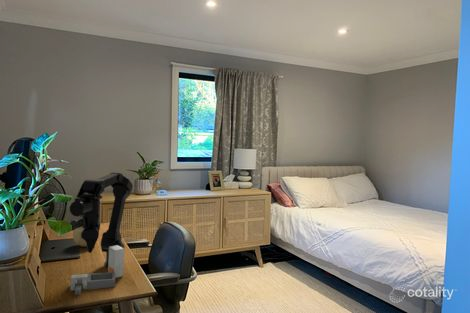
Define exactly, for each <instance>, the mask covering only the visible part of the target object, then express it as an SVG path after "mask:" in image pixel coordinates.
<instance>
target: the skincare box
mask: <svg viewBox="0 0 470 313" xmlns="http://www.w3.org/2000/svg"><path fill="white" fill-rule="evenodd" d="M124 259H125V247H124V248H122V247H120V246H118V245H116V246H110V247H109V261H108V267H107V268H108V269H107V272H115V279H116V278H120V277H124V264H125V263H124V261H125V260H124Z"/></svg>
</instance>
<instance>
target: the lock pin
mask: <svg viewBox="0 0 470 313" xmlns="http://www.w3.org/2000/svg"><path fill="white" fill-rule="evenodd" d="M82 290H83V280H76V288H75V290H74V296H80V295H81V296H82Z"/></svg>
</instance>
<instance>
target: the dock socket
mask: <svg viewBox="0 0 470 313" xmlns="http://www.w3.org/2000/svg"><path fill="white" fill-rule="evenodd" d="M87 274H88V283H87V289H86V290H88V291H89V290H95V289H97V290H99V289H107V288H108V289H109V288H115V287H116V278H115V272H108V271H107V272H95V273H87Z"/></svg>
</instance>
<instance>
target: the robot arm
mask: <svg viewBox="0 0 470 313" xmlns="http://www.w3.org/2000/svg"><path fill="white" fill-rule="evenodd" d="M82 182H83V183H82V184H81V186H80V189H79V190H78V193H77V196H76V197H75V198H74V201H72V202H71V203H70V205H69V213H70V214H71V215H72V216H74V217H77V218H74V219H72V220H69V221H68V222H69V223H70V224H71V225H72V230H70V231H71V232H73V230H74V229H77V228H79V227H82V228H84V229H83V230H82V232H81V238H82V239H84V240H85V241H86V243H87V246H86V247H87V252H88V253H93V250H94V248H95V245H96V244H97V241H98V240H99V236H100V229H101V220H100V213H101V212H100V208H101V207H100V206H101V204H100V202H101V199H103V196H102V194H103V192H105V190H106V188H108V187H110V186H111V188H112V194H113V197H114V200H113V204H112V205H113V206H112V210H111V215H110V220H109V225H108V229H107V230H106V231H105V232H103V233H102V237H101V240H100V248H101V252H102V253H103V252H104V253H106V255H105V262H104V267H105V268H108V261H109V247H110V246H116V245H118V246H120V247H122V248H124V249H125V244H124V243H123V242H122V237H123V236H122V234H121V232H120V230H121V229H120V228H121V224H122V218H123V215H124V214H123V213H124V210H125V209H124V208H125V204H126V200H127V199H128V198H129V197H130V195H131V194H132V193H131V192H132V191H133V183H132V181H131V180H130V179H128V178H127V177H126V176H125V175H123V173H121V172H110V173H109V174H107V175H104V176H102V177H100V178H96V179H95V178H94V179H85V180H84V181H82Z"/></svg>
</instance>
